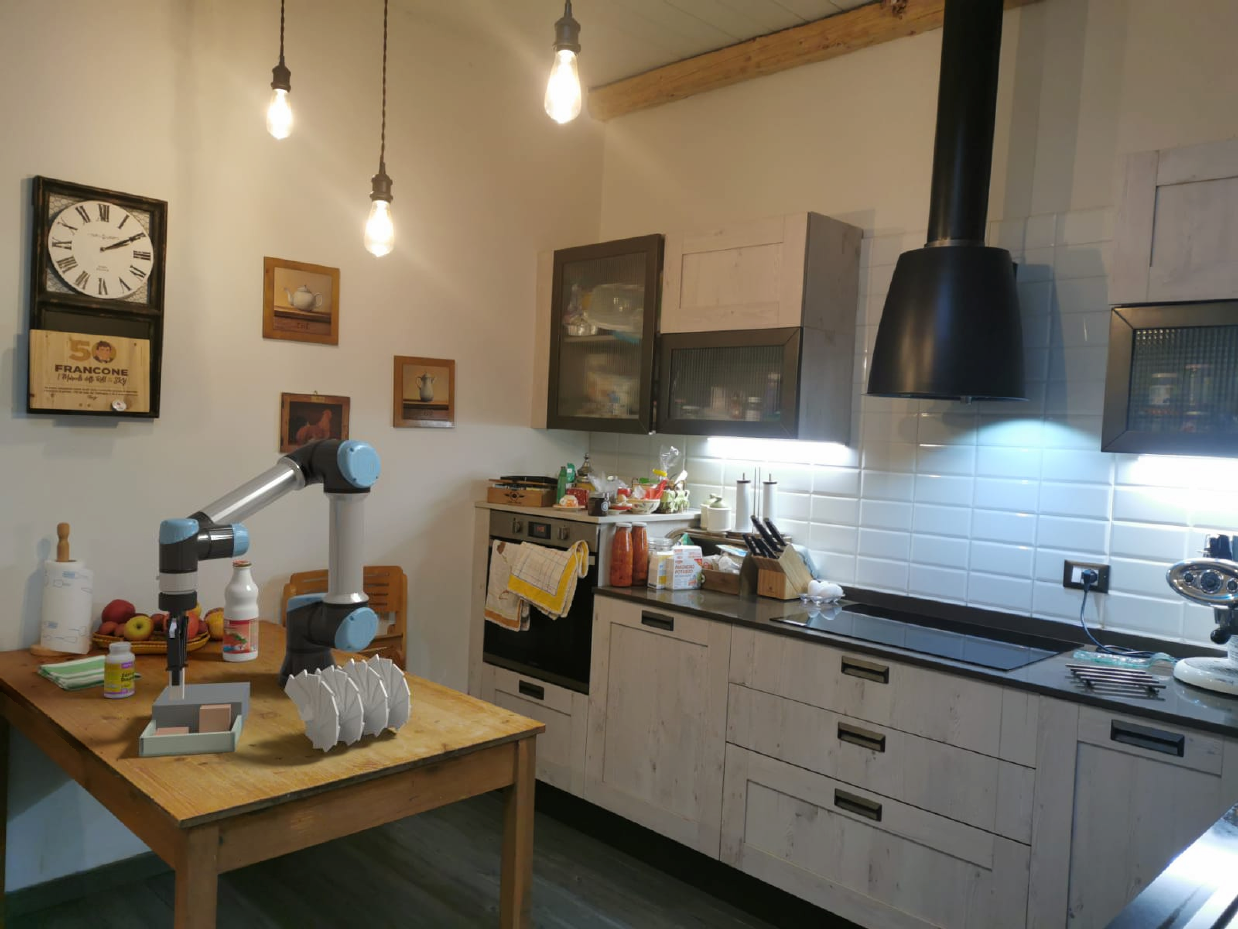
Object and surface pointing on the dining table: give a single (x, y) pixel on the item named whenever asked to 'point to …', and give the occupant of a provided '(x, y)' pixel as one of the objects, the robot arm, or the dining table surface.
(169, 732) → the terracotta tile
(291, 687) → the spiral staircase
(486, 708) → the dining table surface
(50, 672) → the dish towel
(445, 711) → the dining table surface
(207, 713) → the terracotta tile
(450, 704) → the dining table surface
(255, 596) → the fruit juice
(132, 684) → the supplement bottle
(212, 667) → the dining table surface
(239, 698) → the slate step
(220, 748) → the sage tray
